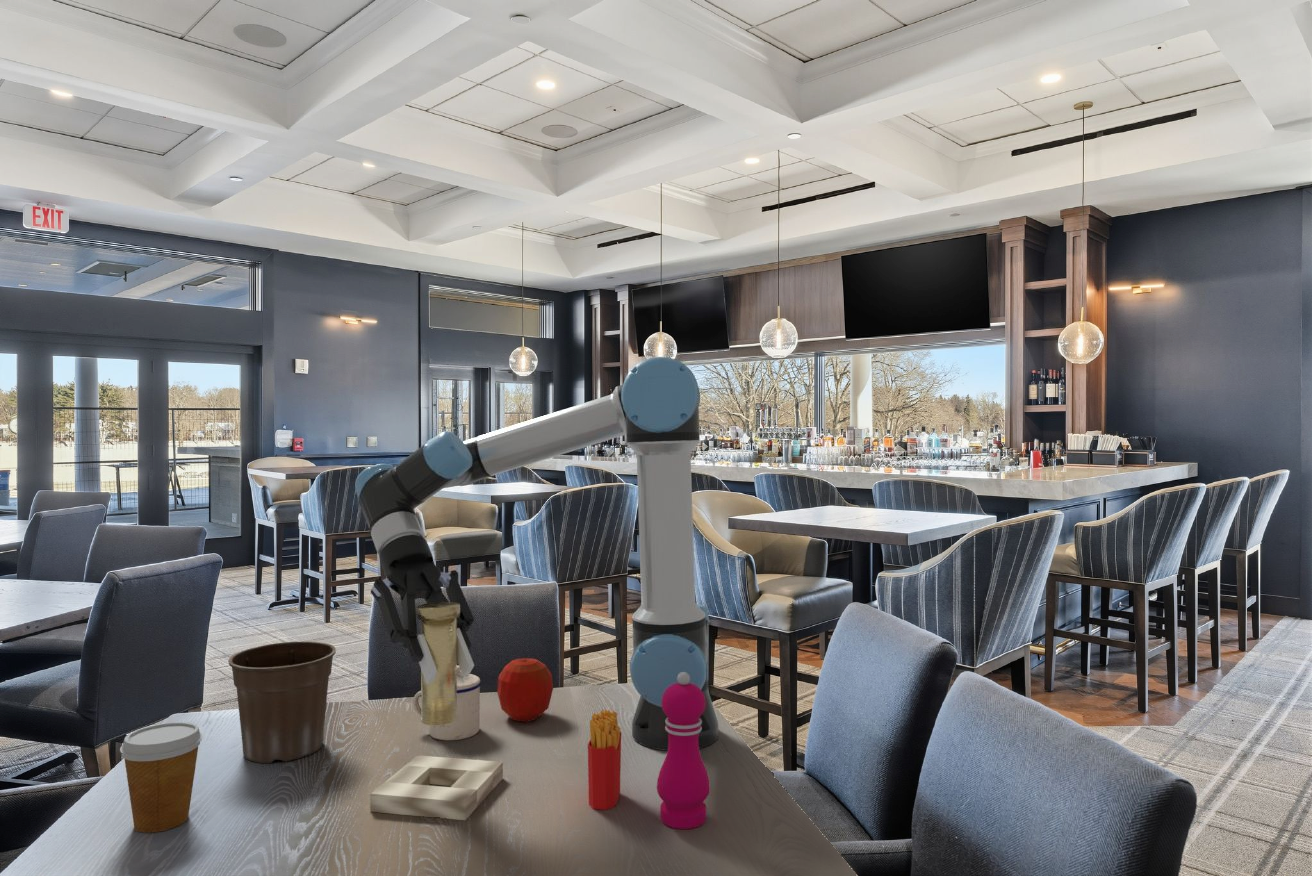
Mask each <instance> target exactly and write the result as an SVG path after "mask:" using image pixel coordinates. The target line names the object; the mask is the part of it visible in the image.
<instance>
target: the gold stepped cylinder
mask: <svg viewBox="0 0 1312 876" xmlns="http://www.w3.org/2000/svg"><path fill="white" fill-rule="evenodd" d="M416 607H417V610H416V611H417V612H416V619H418V620H420V634H423V635H424V637H425V640H426V642H427V645H428V648H429V650H430V653H431V656H432V659H433V661H434V664H435V667H436V669H437V672H438V673H437V675H436V677H435V679H434V680H433V682H432V684H426V681H425V678H424V675H423V673H422V670H421V669H420V671H421V672H420V677H421V680H420V682H421V683H420V686H421V687H420V688H421V690H420V691H421V695H420V696H421V697H420V704H421V705H420V706H421V707H420V708H421V721H420V722H421V723H422V724H423V725H427V726H429V725H444V724H448V723H451V722H453V721H455V720H456V719H457V664H458V662H457V617H459V616H460V604H458V603H454V602H450V601H449V602H434V603H427V602H426V603H423V604H419V605H418V606H416Z"/></svg>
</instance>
